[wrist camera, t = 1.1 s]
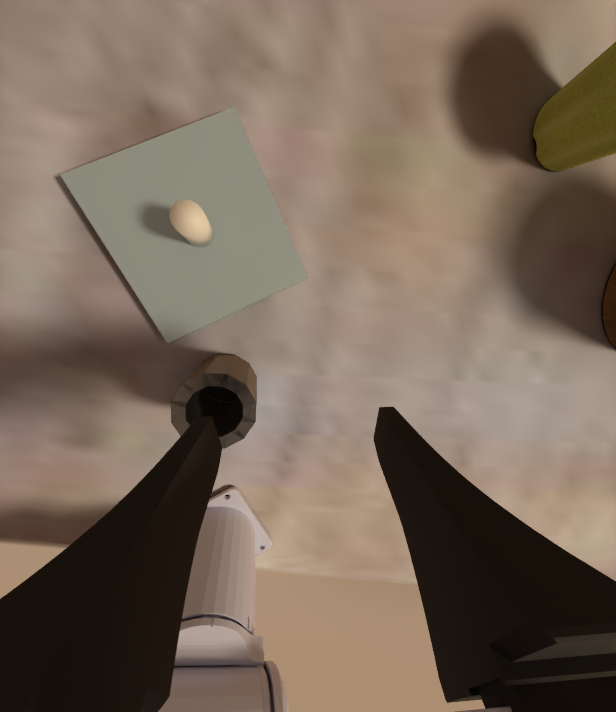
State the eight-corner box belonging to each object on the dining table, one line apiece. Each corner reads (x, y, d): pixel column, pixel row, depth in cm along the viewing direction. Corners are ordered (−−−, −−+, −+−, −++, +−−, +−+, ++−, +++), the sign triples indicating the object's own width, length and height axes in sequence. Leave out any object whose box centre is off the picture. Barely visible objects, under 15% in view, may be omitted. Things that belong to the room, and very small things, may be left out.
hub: (214, 420, 22) (198, 462, 16) (182, 371, 20) (153, 397, 15) (266, 393, 22) (269, 425, 16) (238, 344, 21) (232, 359, 15)
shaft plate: (171, 341, 20) (151, 350, 16) (71, 182, 16) (14, 144, 13) (305, 278, 21) (316, 272, 17) (235, 117, 18) (230, 65, 14)
